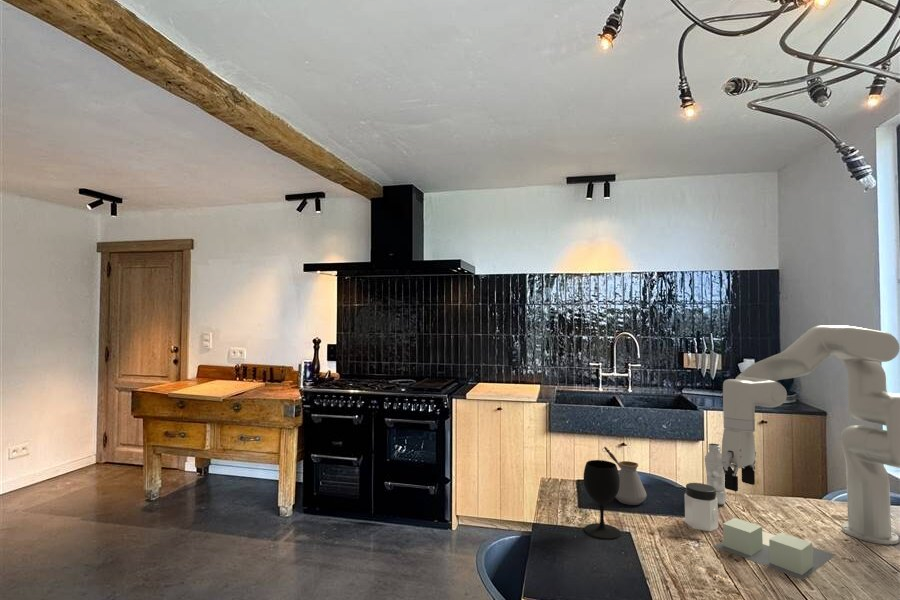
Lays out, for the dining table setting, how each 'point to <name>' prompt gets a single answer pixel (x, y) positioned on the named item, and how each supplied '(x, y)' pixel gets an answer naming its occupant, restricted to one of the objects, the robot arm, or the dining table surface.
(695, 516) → the jar
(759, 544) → the cover
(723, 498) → the plastic bottle
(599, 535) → the wine glass
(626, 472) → the coffee pot
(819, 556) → the slate mat
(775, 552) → the cover
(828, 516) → the dining table surface
